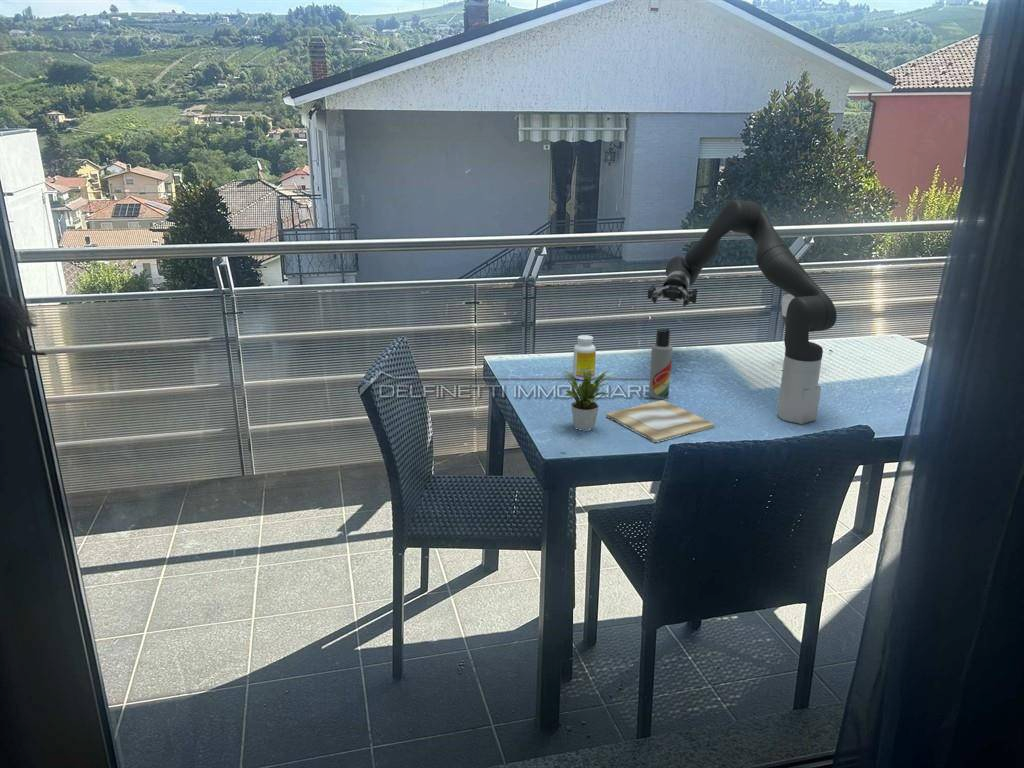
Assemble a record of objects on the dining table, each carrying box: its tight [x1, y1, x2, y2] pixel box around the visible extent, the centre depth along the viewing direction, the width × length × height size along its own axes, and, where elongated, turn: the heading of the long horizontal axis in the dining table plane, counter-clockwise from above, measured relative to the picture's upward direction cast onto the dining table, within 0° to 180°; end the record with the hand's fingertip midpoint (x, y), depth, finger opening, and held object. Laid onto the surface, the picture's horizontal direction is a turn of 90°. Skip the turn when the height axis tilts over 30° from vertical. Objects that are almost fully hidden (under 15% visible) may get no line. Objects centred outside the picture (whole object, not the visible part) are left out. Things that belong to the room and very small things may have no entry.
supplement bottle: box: [572, 334, 597, 381], centre depth 240 cm, size 7×7×13 cm
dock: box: [605, 399, 715, 442], centre depth 208 cm, size 20×20×1 cm
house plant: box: [564, 366, 617, 430], centre depth 201 cm, size 14×14×16 cm
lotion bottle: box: [648, 328, 673, 400], centre depth 224 cm, size 6×6×20 cm
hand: (669, 301), depth 228 cm, fingers open, 8 cm apart
